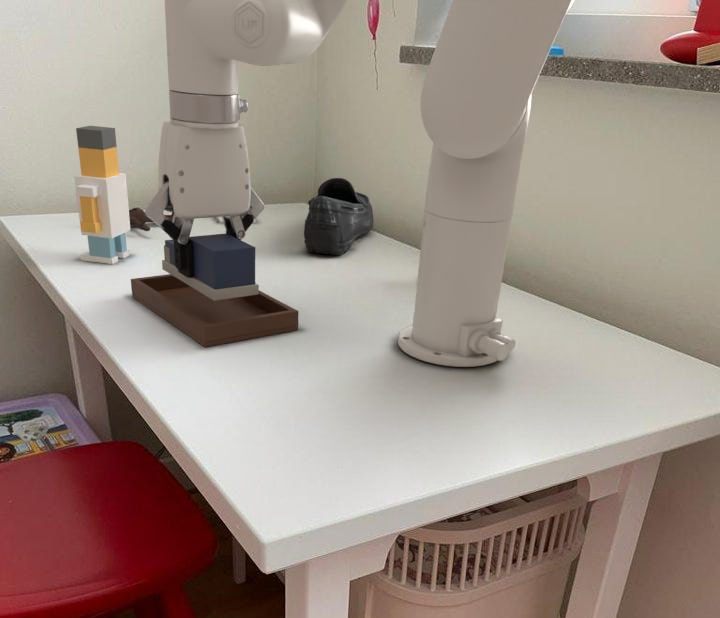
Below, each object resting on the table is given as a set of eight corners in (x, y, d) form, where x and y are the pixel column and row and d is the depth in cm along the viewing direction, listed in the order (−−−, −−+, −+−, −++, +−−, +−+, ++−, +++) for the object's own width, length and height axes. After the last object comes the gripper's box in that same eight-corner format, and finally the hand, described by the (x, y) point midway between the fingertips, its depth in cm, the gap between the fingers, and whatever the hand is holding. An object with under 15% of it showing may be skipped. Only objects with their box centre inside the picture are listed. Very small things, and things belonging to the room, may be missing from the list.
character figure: (83, 267, 111) (67, 132, 102) (76, 249, 119) (61, 122, 110) (138, 265, 114) (127, 133, 105) (128, 247, 122) (117, 123, 113)
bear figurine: (203, 215, 131) (120, 212, 123) (202, 241, 133) (120, 240, 125) (160, 195, 144) (82, 191, 135) (160, 219, 146) (82, 216, 137)
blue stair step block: (213, 300, 89) (212, 252, 87) (162, 269, 99) (159, 224, 96) (258, 294, 93) (259, 247, 90) (204, 264, 102) (203, 221, 99)
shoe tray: (298, 330, 94) (298, 310, 93) (204, 347, 87) (204, 327, 86) (218, 285, 108) (217, 267, 107) (132, 297, 101) (130, 278, 100)
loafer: (377, 223, 148) (381, 167, 143) (362, 261, 123) (366, 195, 118) (324, 219, 149) (326, 162, 144) (298, 256, 124) (299, 189, 119)
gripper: (254, 107, 93) (254, 257, 102) (116, 105, 84) (130, 271, 93) (287, 115, 88) (284, 272, 97) (145, 114, 79) (156, 289, 88)
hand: (208, 270), depth 95 cm, fingers closed on blue stair step block, 5 cm apart
